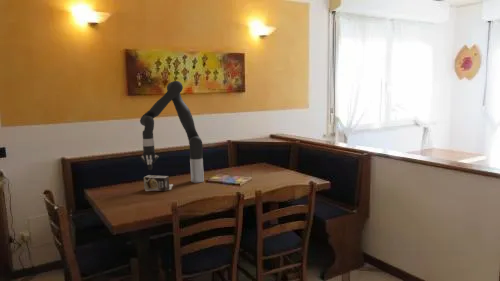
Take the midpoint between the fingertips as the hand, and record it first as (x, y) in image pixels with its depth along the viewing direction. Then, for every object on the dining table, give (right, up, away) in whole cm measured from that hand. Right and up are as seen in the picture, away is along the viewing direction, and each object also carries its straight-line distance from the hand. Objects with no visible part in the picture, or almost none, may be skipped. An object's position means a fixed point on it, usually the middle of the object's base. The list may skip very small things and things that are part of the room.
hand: (150, 169), depth 270 cm
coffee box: (-3, -9, 0) cm, 9 cm away
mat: (+6, -13, +3) cm, 15 cm away
